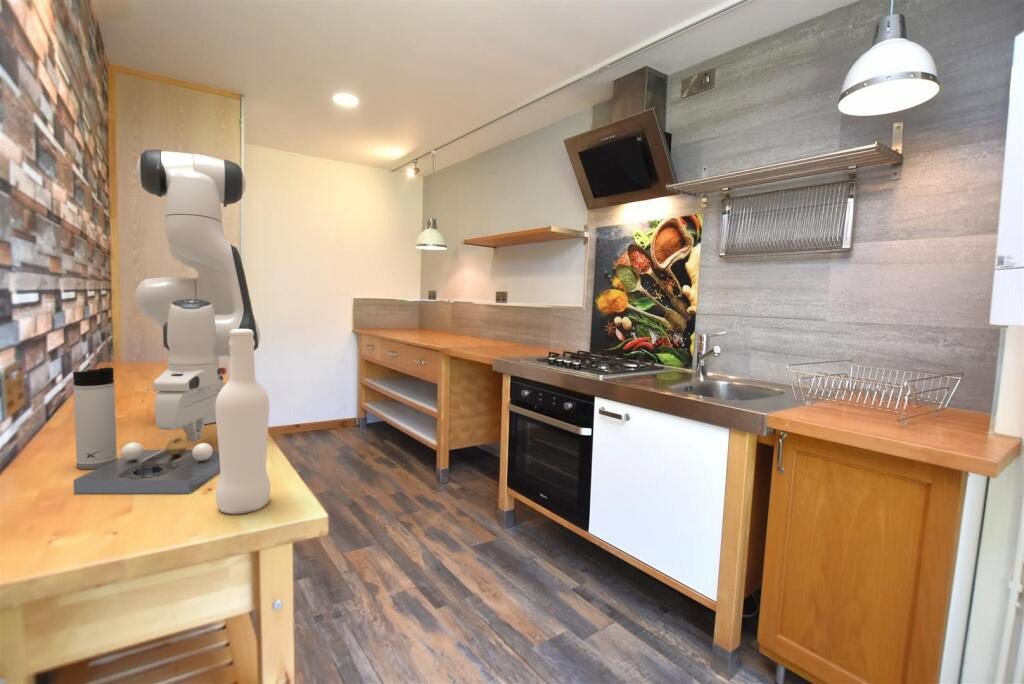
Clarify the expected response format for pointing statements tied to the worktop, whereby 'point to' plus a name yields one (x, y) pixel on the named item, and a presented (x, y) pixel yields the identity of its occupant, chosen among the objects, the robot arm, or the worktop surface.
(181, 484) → the plate
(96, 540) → the worktop surface
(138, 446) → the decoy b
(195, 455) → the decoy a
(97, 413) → the travel mug
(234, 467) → the bottle
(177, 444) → the brass ball
